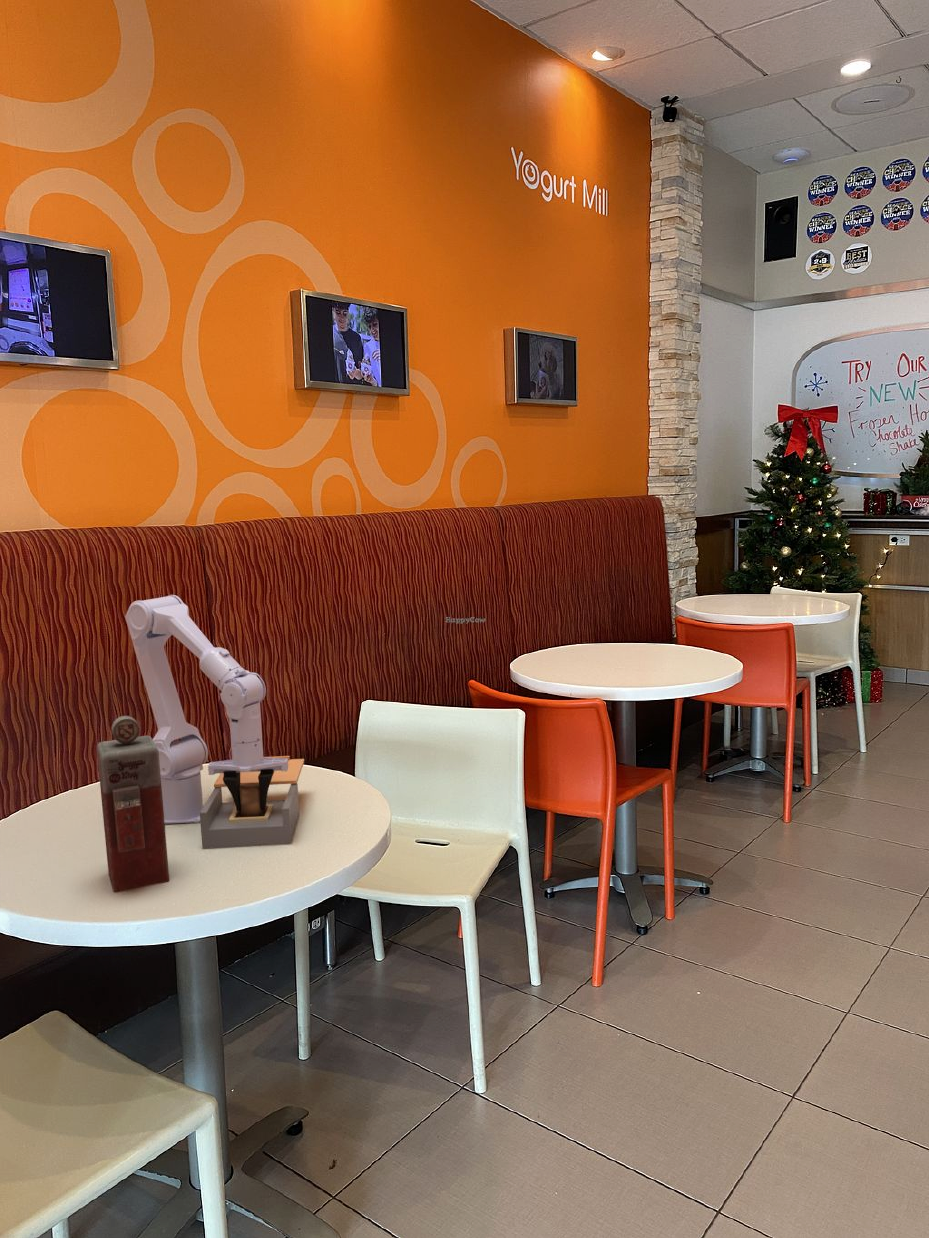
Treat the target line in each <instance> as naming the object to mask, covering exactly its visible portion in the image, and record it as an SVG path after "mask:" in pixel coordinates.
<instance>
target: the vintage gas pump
mask: <svg viewBox="0 0 929 1238" xmlns="http://www.w3.org/2000/svg"><path fill="white" fill-rule="evenodd" d="M140 729H141V728H140V726H139V724H138V722H137V720H136V719H135V718H134V717H132V716H130V715H122V716H119V717H117V718H116V719H114V721H113V722H112V725H111V733H112V736H113V738H114V739H112V740H106V741H100V742H98V743H97V745H96V754H97V765H98V776H99V785H100V798H101V807H102V820H103V829H104V839H105V840H104V841H105V851H106V862H107V873H108V877H109V881H110V885H111V889H112V892H113V893H119V892H123V891H125V892H126V891H128V890H129V891H130V890H134V889H139V888H145V887H148V886H154V885H157V884H162V883H167V882H170V870H169V859H168V847H167V835H166V834H167V833H166V824H165V822H164V810H163V798H162V786H161V774H160V762H159V752H158V749H157V747H156V745H155V744H154V742H153V740H152V739H153V738H152V737H151V736H150V735H141V736H139V734H140Z"/></svg>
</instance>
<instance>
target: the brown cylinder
mask: <svg viewBox="0 0 929 1238" xmlns="http://www.w3.org/2000/svg"><path fill="white" fill-rule="evenodd" d="M239 793H240V806H241V817H260V816H263V811H262V810H261V807H260V787H259V784H258V783H247V784H243V785H241V786H240V787H239Z"/></svg>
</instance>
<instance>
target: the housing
mask: <svg viewBox="0 0 929 1238" xmlns="http://www.w3.org/2000/svg"><path fill="white" fill-rule="evenodd" d="M298 787H299V786H298V782H297V783H296V784H290V786H289V789H288V791H287V794H286V798H285V799H281V800H280V799H277V800H266V808H265V810H262V811H263V816H260V817H241V811H237V809H236V805H235V802H234V801H233V802H223V792H222V791H223V790H222V787H213V789H212V791H211V793H210V795H209V796H208V799H207V800H206V802H205V803H204V804H203V806H204V807H203V808H202V810H201V812H200V822H199V823H200V832H201V833H200V834H201V847H202V848H201V849H221V848H224V849H225V848H237V847H240V848H241V847H242V848H243V847H255V846H257V847H261V846H277V845H279V846H280V845H291V844H292V842H293V840H294V839H293V838H294V836H295V831H296V829H297V825H298V822H299V819H300V804H299V789H298Z"/></svg>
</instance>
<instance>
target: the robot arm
mask: <svg viewBox="0 0 929 1238" xmlns="http://www.w3.org/2000/svg"><path fill="white" fill-rule="evenodd" d="M124 618H125V622H126V624H127V629H128V630H129V635H130V639H131V641H132V645H133V649H134V653H135V655H136V656H135V657H136V659H137V662H138V666H139V669H140V673H141V676H142V680H143V683H144V686H145V689H146V692H147V693H146V694H147V695H148V696H147V697H148V700H149V702H150V706H151V710H152V713H153V716H154V720H155V723H156V728H157V732H156V733H155V735H154V737H153V738H152V740H153V742H154V744H155V745H156V747H157V749H158V752H159V762H160V774H161V786H162V798H163V810H164V822H165V825H166V824H167V825H168V824H185V823H187V824H189V823H200V812H201V810H202V808H203V807H204V803H203V789H202V777H201V771H203V770H204V766H203V765H205V763H206V762H207V761H208V758H209V757H208V756H209V750H208V747H207V744H206V742H205V741H204V739H203V737H202V736H201V734H200V731H199V728H197V727H196V726H194V725H192V724H190V723H188V722H187V720H186V717H185V714H184V710H183V706H182V704H181V700H180V697H179V694H178V691H177V687H176V683H175V680H174V677H173V674H172V671H171V667H170V663H169V660H168V657H167V653H166V650H165V645H166V643H167V641H168V640H169V638H171V636H174V637H175V638H176V639H177V640H178V641H179V642H180V643H181V644H182V645H183V646H185V647H186V648H187V649H188V650H189V651H190V652H191V653H192V654H193V655H195V657H197V658H198V659H199V669H200V670H201V671H202V673H204V674H205V676H207V678H208V679H209V680H210V681H211V683H213V684H214V685H215V686H216V688H218V689H219V690H220V691H221V692H220V699H221V702H222V703H223V706H225V710H226V715H227V717H228V719H229V730H230V731H229V732H230V744H231V745H230V747H231V759H226V760H220V761H219V760H218V761H210V762H208V765H207V769H208V775H209V776H214V775H216V774H217V775H218V774H220V773H224V777H223V782H224V783H225V785H226V786H227V787H226V788H227V789H228V791H229V793H230V795H231V797H232V799H233V803H234V802H235V805H236V809H237V811H241V806H240V793H239V787H240V772H259V771H261V772H260V774H259V776H258V780H259V787H260V807H261V810H265V808H266V801H267V798H268V792H269V789H270V782H271V779H272V776H273V774H274V771H280V770H281V771H287V770H288V759H279V758H263V757H264V748H263V730H262V729H263V728H262V714H261V713H262V712H261V702H262V701H263V700H264V699H265V697H266V694H267V688H266V685H265V684H266V683H265V682H264V680H263V678H262V677H261V676H260V674H258V673H257V672H251V671H249V670H246V669H244V668H243V667H242V666H241V665H240V664H239V662H237V661H236V660H235V658H234V657H233V656H232V655H231V654H230V652H229V650H228V649H226V648H223V647H222V646H221V647H220V646H219V647H214V645H213V643H212V642H210V640H209V639H208V638H207V636H206V635H205V634H204V633H203V632H202V631H201V630H200V628H199V627H198V626H197V624H196V623H195V621H194V620H192V618H191V616H190V611H189V606H188V605H186V604H185V603H184V602H183V600H182V599H181V597H179V596H177V595H174V594H169V595H167V596H161V597H157V598H156V597H155V598H151V599H145V600H139V599H138V600H135V601H133V602H132V603H131V604H130V605H129V607H128V609H127V611H126V614H125V616H124ZM178 739H179V740H178ZM175 740H177V741H175ZM173 741H174V742H173Z"/></svg>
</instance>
